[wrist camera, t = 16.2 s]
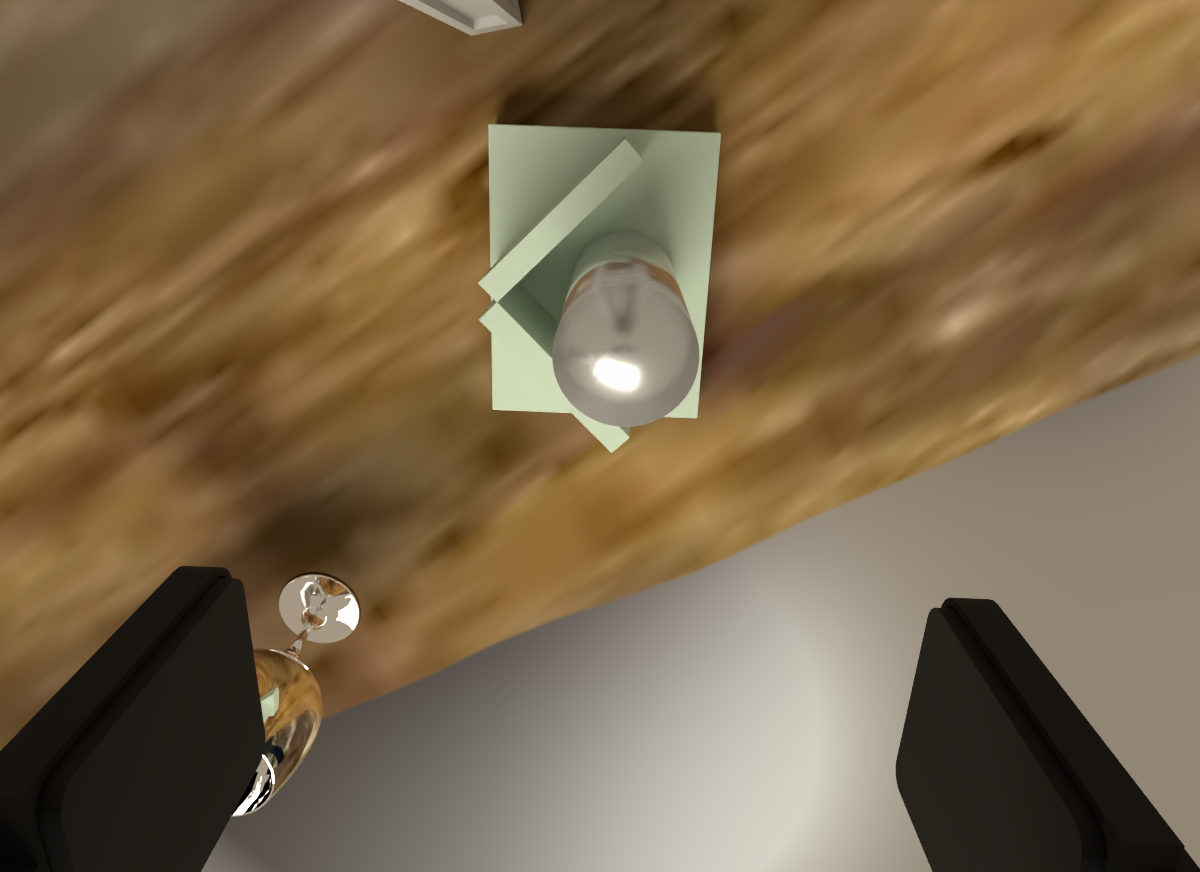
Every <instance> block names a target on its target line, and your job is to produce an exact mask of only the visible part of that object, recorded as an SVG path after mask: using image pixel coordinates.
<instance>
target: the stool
mask: <svg viewBox="0 0 1200 872" xmlns="http://www.w3.org/2000/svg"><path fill="white" fill-rule="evenodd" d="M399 1H401V2H403V3H405V4H407V5H409V6H412V7H414V8H416V9H418V10H420V11H422V12H424V13H426V14H428V15H430V16H432V17H434V18H436V19H438V20H440V21H442V22H445V23H447V24H449V25H451V26H453V27H455V28H457V29H459V30H461V31H463V32H465V33H467V34H469V35H471V36H472V35H477V34H482V33H487V32H492V31H497V30H502V29H507V28H512V27H517V26H522V25H523V24H522V19H521V13H520V8H519V3H518V0H399Z"/></svg>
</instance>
